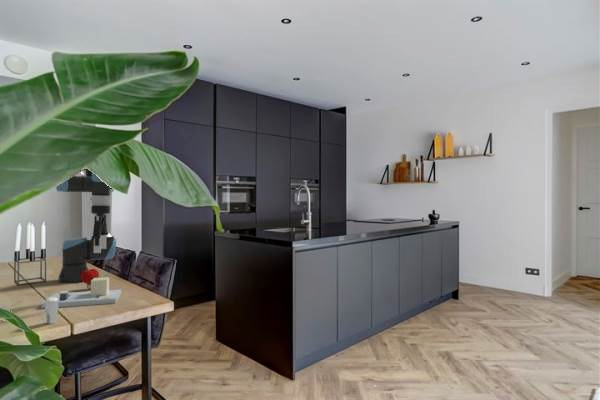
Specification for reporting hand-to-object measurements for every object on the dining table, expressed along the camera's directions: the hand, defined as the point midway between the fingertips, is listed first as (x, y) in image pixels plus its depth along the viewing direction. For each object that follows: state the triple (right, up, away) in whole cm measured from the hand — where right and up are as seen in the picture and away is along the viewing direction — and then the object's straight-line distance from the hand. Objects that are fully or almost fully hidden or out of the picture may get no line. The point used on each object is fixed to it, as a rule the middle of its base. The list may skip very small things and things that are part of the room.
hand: (100, 250), depth 167 cm
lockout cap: (0, -20, -1) cm, 20 cm away
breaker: (-10, -19, -10) cm, 24 cm away
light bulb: (-13, -22, +15) cm, 30 cm away
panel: (-5, -22, -5) cm, 23 cm away
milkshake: (+1, -22, -34) cm, 41 cm away
